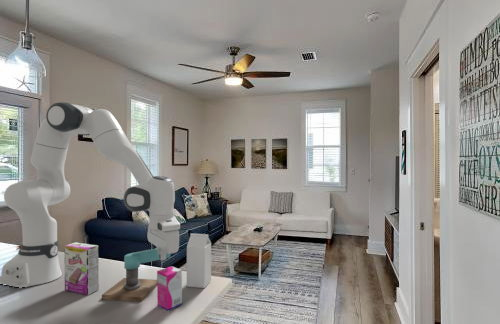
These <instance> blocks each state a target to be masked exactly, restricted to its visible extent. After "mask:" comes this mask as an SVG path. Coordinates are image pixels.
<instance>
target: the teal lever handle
mask: <svg viewBox="0 0 500 324" xmlns="http://www.w3.org/2000/svg"><path fill="white" fill-rule="evenodd" d="M123 257H124V258H123V260H124V261H123V262H124V263H123V264H124V265H123V266H124V269H125V270H126V269H136V268H138V269H139V268H140V266H141V264H145V263H150V262H155V261H159V260H160V259H159V258H158V252H157V247H156V248H151V249H145V250H141V251H136V252H131V253H127V254H125V255H124V256H123ZM168 258H171V254H168V253H167V254H166V259H168ZM160 261H161V260H160Z"/></svg>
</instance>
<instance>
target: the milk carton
mask: <svg viewBox="0 0 500 324" xmlns="http://www.w3.org/2000/svg"><path fill="white" fill-rule="evenodd" d="M189 235H190V236H189V239H188V242H187V245H186V287H187V288H188V287H190V288H198V289H199V288H201V289H205V288H206V287H207V286H209V283H210V282H211V280H212V241H211V239H210V238H209V233H208V234H205V233H190V234H189Z"/></svg>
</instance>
